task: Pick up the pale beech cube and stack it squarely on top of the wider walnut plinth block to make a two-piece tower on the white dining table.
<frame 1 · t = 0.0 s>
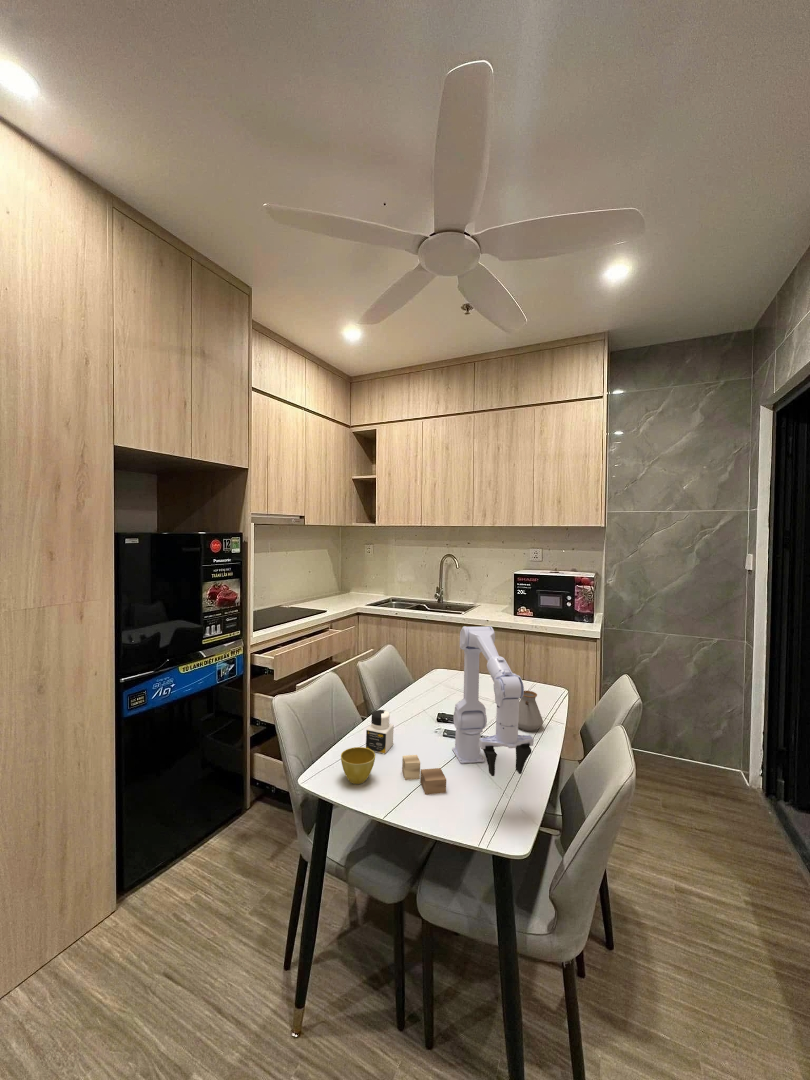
hand: (505, 773, 116), 10 cm above the table, fingers open, 7 cm apart
flower pot: (357, 780, 129), on the table
medicine bottle: (379, 748, 148), on the table
coffee pot: (526, 732, 163), on the table
walnut plinth: (432, 788, 126), on the table
beech cube: (410, 775, 132), on the table
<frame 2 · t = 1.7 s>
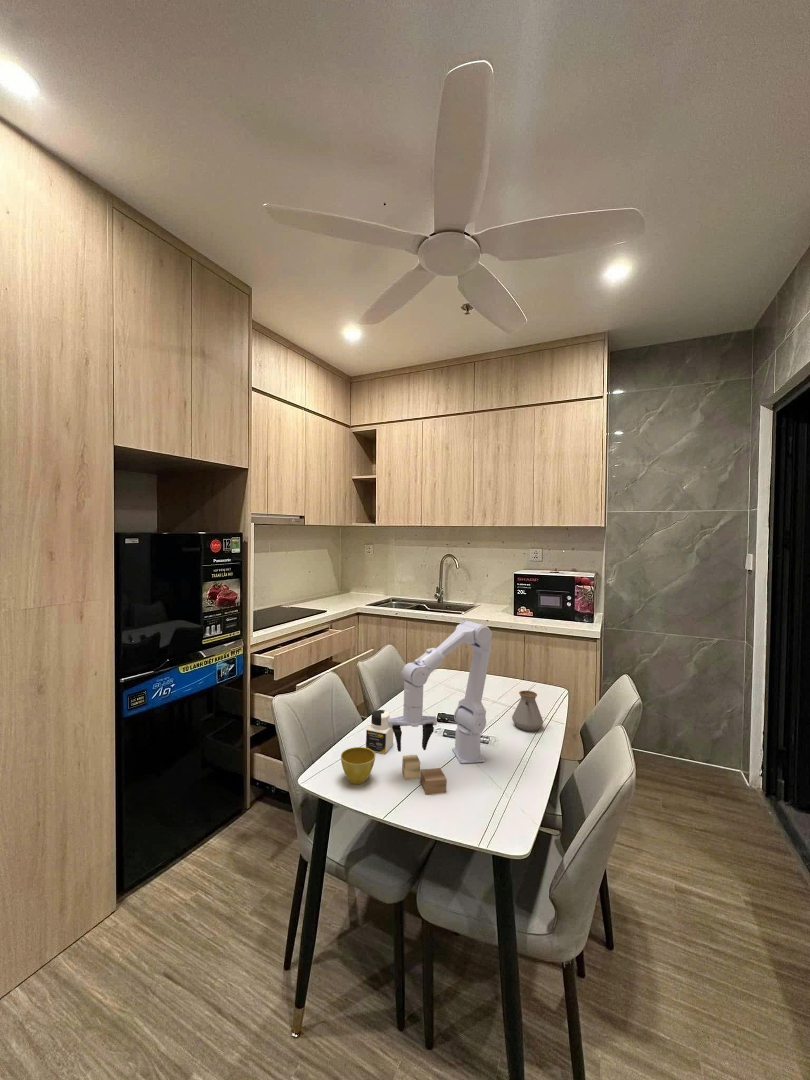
hand: (411, 749, 131), 8 cm above the table, fingers open, 7 cm apart
nothing on the table moved.
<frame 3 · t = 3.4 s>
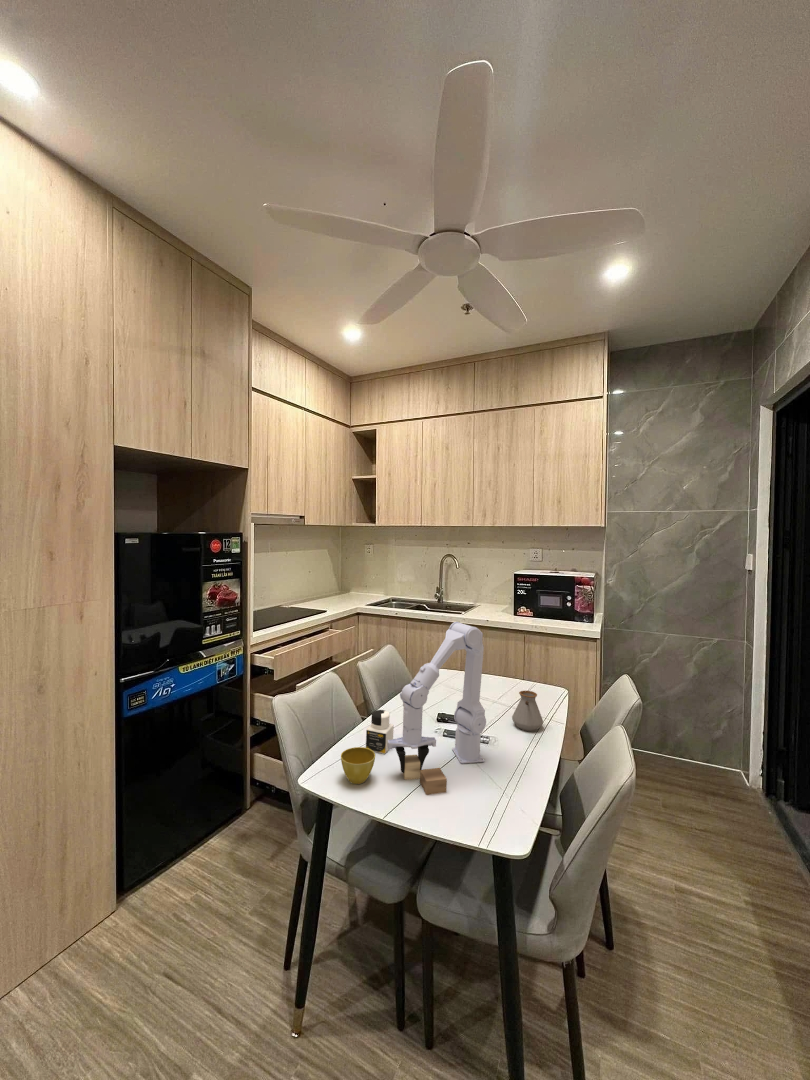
hand: (410, 770, 132), 1 cm above the table, fingers closed on beech cube, 4 cm apart
beech cube: (410, 775, 132), on the table, touching gripper
everything else where it was.
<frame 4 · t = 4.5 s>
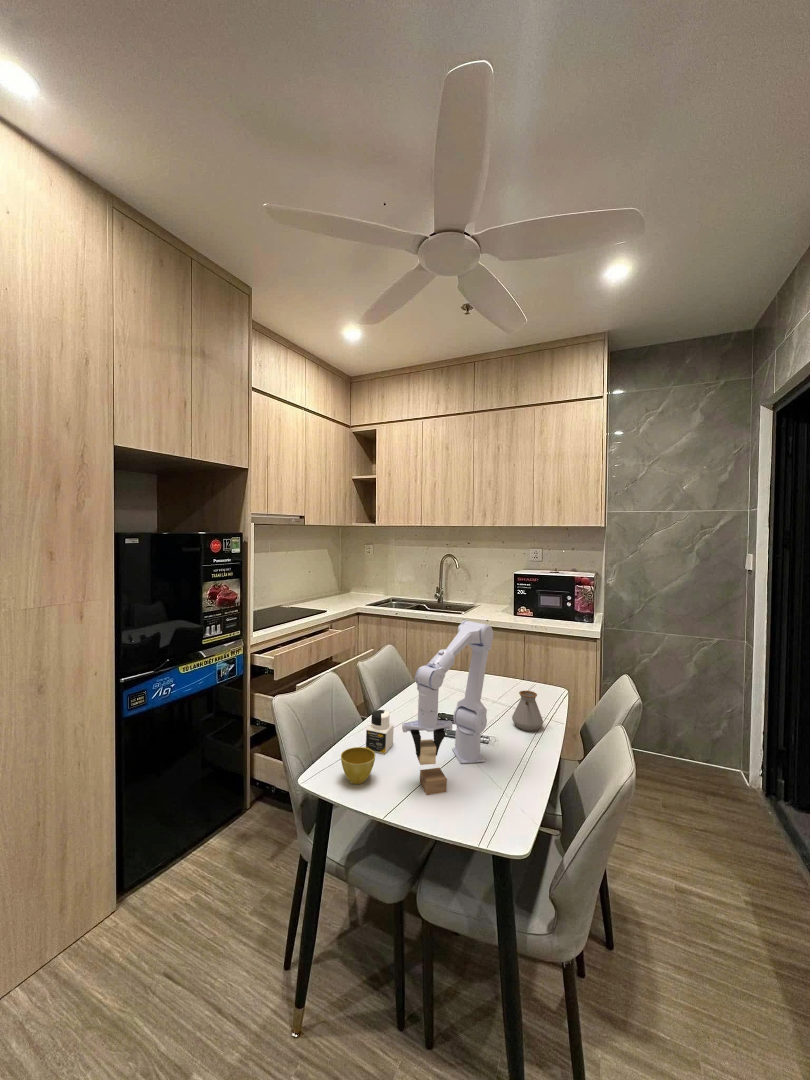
hand: (426, 754, 127), 8 cm above the table, fingers closed on beech cube, 4 cm apart
beech cube: (426, 760, 128), point 7 cm above the table, touching gripper
everything else where it was.
when the fingers open (6 cm above the table, at t = 5.9 s): beech cube stays where it is, resting on walnut plinth.
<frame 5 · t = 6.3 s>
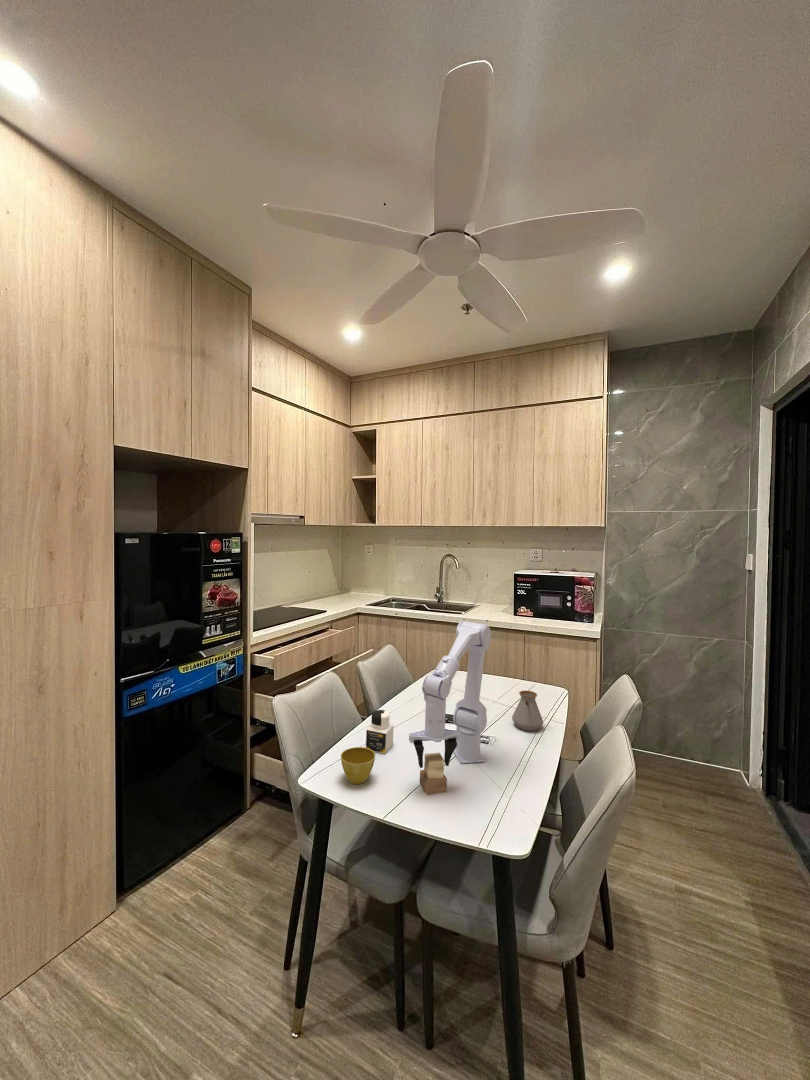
hand: (433, 765, 126), 6 cm above the table, fingers open, 7 cm apart
walnut plinth: (432, 788, 126), on the table, touching beech cube
beech cube: (433, 774, 126), point 4 cm above the table, touching walnut plinth
everything else where it was.
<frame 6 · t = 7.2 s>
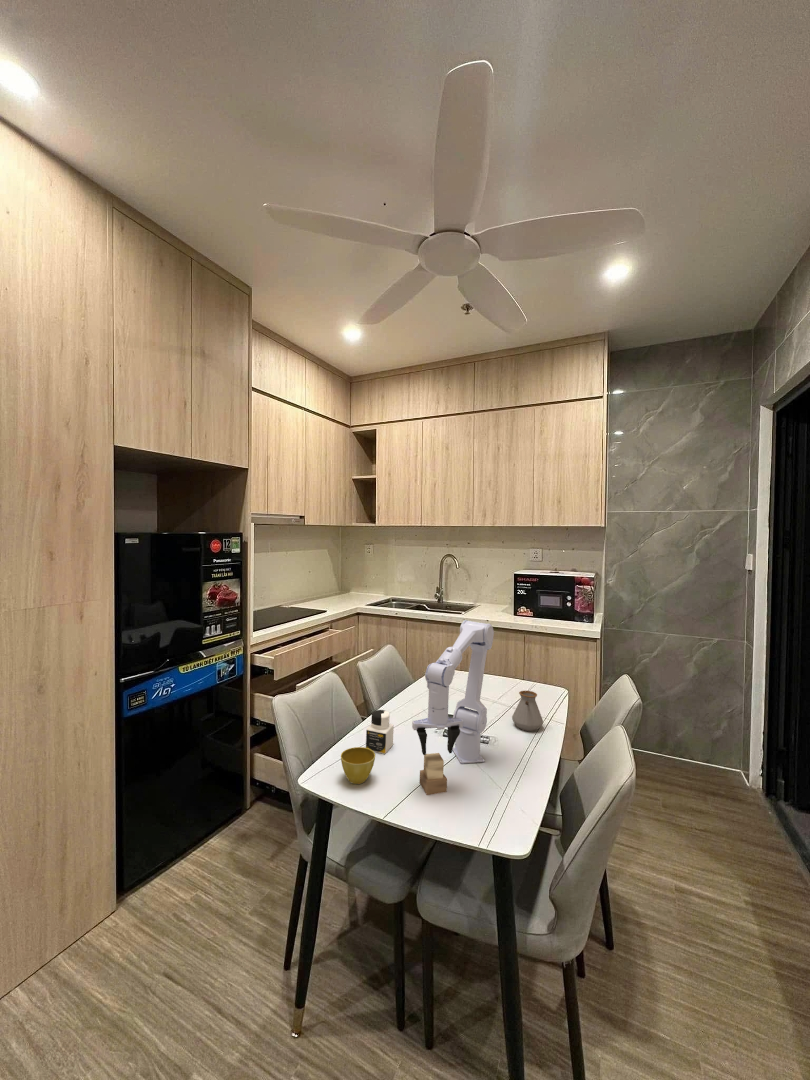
hand: (436, 752, 126), 10 cm above the table, fingers open, 7 cm apart
nothing on the table moved.
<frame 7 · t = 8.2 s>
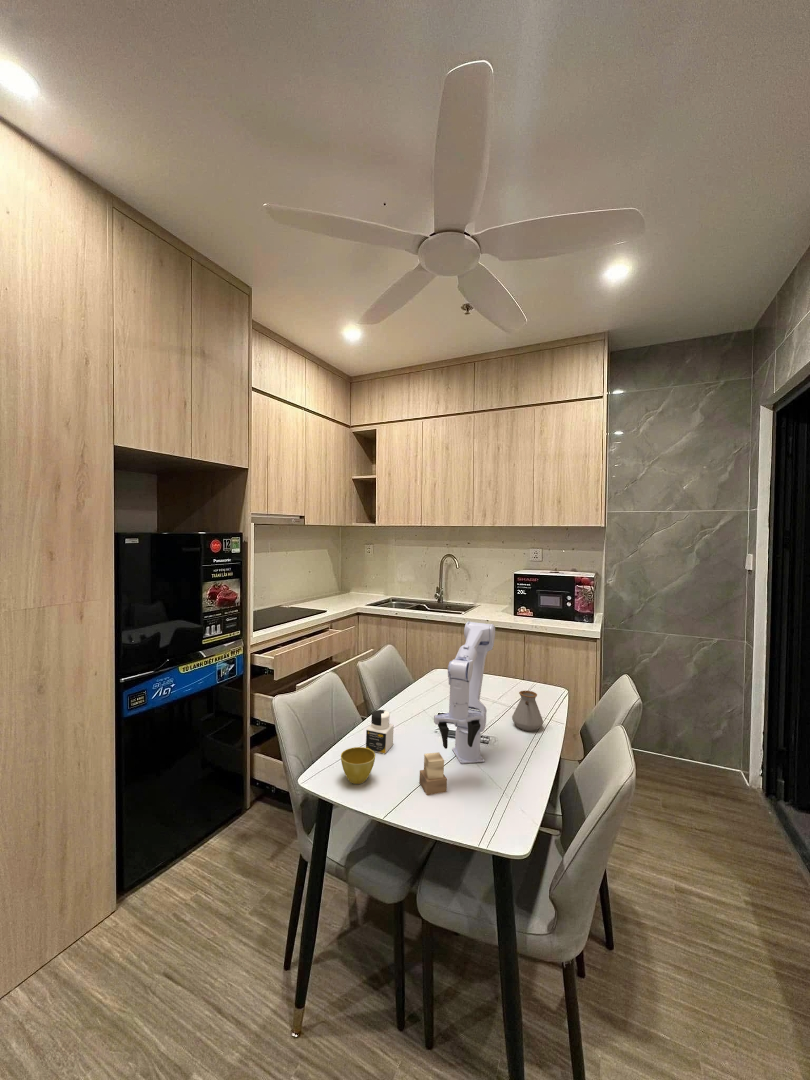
hand: (457, 746, 130), 10 cm above the table, fingers open, 7 cm apart
walnut plinth: (432, 788, 126), on the table
beech cube: (433, 774, 126), point 4 cm above the table
everything else where it was.
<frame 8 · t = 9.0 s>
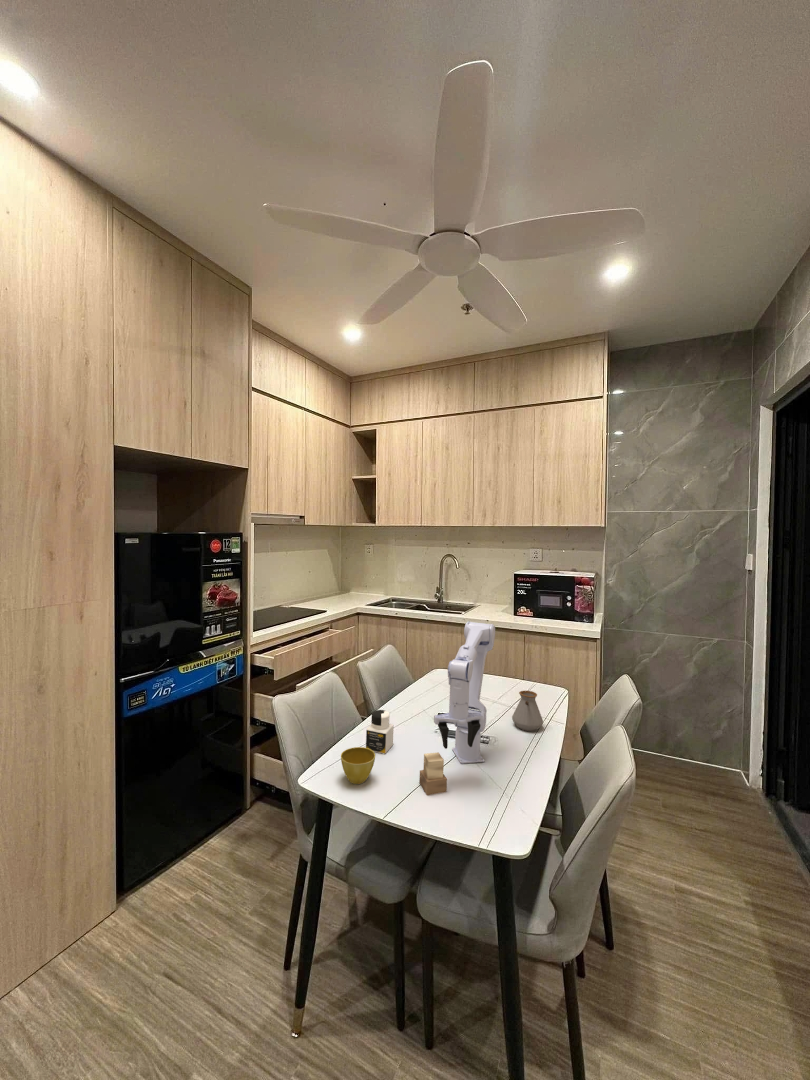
hand: (457, 746, 130), 10 cm above the table, fingers open, 7 cm apart
walnut plinth: (432, 788, 126), on the table, touching beech cube
beech cube: (433, 774, 126), point 4 cm above the table, touching walnut plinth
everything else where it was.
at the end: beech cube 0.1 cm off-centre on the walnut plinth, point 4.0 cm above the walnut plinth's base; beech cube tilted 0°; the gripper is holding nothing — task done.
